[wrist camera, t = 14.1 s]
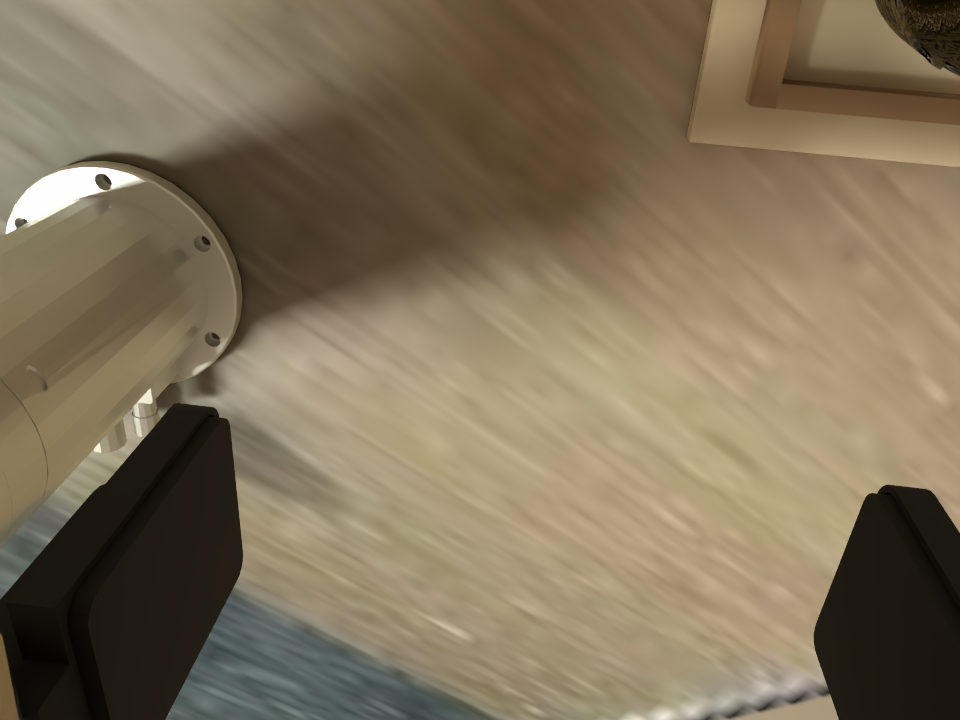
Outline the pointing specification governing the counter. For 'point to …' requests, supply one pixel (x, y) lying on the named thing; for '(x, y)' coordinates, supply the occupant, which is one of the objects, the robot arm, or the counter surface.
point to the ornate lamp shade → (927, 28)
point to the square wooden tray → (822, 84)
